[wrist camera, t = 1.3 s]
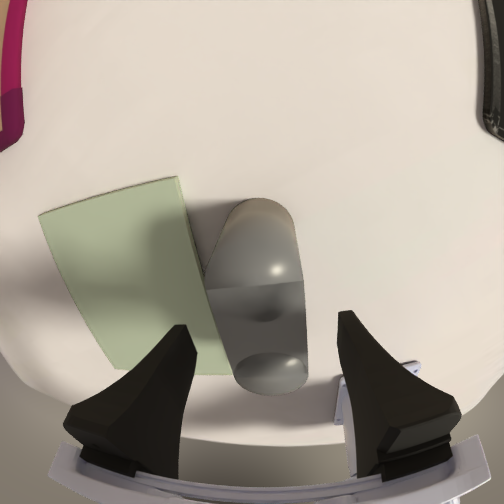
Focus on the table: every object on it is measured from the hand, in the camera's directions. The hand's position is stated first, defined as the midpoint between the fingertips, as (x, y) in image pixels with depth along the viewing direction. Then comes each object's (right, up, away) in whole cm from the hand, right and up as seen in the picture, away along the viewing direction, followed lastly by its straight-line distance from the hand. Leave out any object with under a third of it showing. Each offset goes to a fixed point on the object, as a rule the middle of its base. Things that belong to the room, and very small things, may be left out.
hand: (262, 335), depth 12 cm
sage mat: (-9, 0, +6) cm, 11 cm away
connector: (+1, +1, +5) cm, 6 cm away
